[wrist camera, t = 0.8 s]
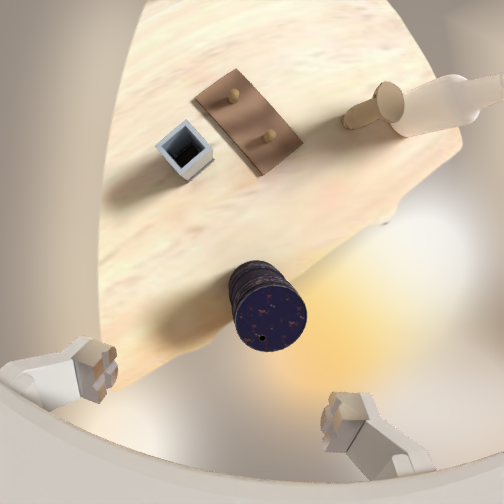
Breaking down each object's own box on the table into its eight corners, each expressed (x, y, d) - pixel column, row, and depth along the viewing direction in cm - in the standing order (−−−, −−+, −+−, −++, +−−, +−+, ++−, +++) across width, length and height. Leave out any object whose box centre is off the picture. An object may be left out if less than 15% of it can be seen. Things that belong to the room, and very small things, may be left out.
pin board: (195, 99, 45) (194, 90, 41) (235, 70, 45) (238, 60, 40) (263, 175, 49) (268, 173, 45) (301, 144, 49) (309, 139, 44)
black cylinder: (242, 250, 51) (254, 272, 36) (292, 272, 53) (320, 300, 38) (219, 300, 52) (222, 339, 37) (267, 320, 54) (286, 361, 39)
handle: (361, 111, 49) (405, 90, 34) (356, 141, 50) (402, 126, 35) (339, 102, 48) (379, 76, 34) (333, 133, 49) (375, 114, 34)
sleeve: (167, 158, 46) (152, 146, 34) (193, 137, 46) (186, 117, 34) (188, 183, 48) (180, 178, 35) (214, 161, 47) (214, 148, 35)
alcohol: (383, 93, 49) (490, 44, 19) (415, 103, 50) (521, 69, 21) (385, 133, 50) (504, 102, 21) (418, 141, 51) (532, 123, 22)
